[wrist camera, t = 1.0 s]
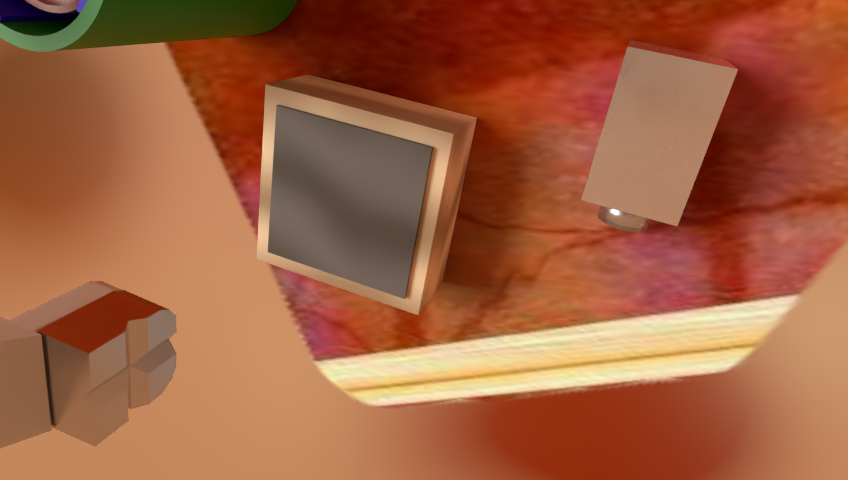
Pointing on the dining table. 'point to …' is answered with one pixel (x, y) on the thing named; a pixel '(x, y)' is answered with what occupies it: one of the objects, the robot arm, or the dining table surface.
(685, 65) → the block
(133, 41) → the motor
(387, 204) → the stand
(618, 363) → the dining table surface
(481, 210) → the dining table surface
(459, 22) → the dining table surface
